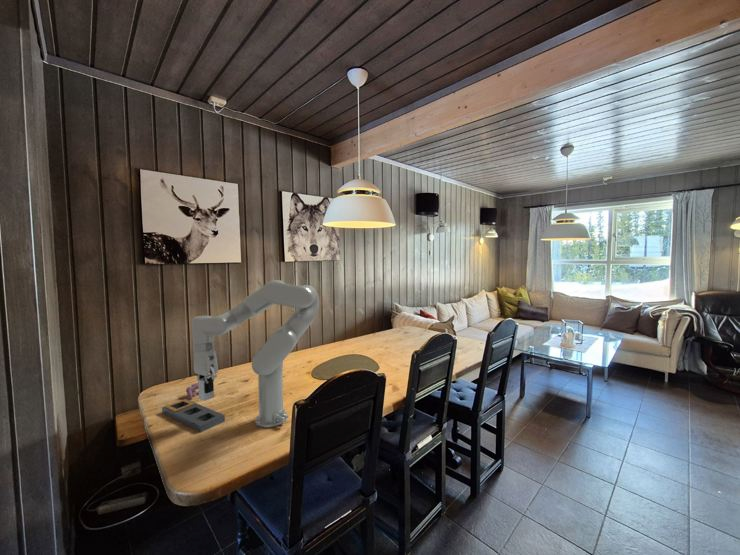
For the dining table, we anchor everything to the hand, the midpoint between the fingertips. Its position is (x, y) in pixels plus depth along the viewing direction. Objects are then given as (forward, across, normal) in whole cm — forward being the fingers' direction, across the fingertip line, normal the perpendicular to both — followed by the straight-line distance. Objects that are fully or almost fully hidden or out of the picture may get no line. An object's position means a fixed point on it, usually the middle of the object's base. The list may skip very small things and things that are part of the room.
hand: (206, 390), depth 125 cm
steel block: (+3, 0, 0) cm, 3 cm away
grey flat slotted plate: (+13, +10, 0) cm, 17 cm away
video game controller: (+14, +30, -13) cm, 36 cm away
